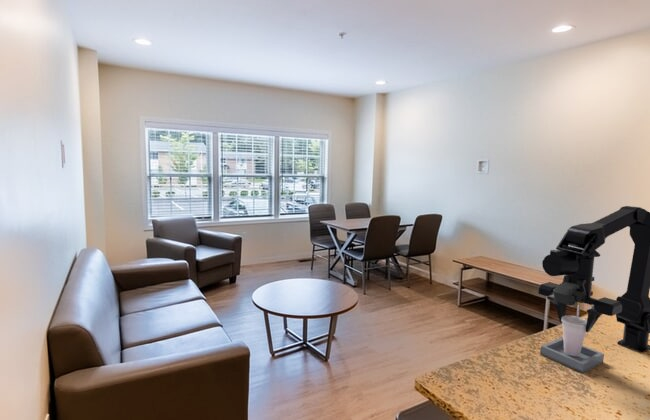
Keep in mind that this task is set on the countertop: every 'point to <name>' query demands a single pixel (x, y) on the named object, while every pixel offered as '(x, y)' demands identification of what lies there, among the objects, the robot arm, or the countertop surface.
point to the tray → (578, 363)
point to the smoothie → (573, 333)
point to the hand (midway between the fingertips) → (574, 327)
